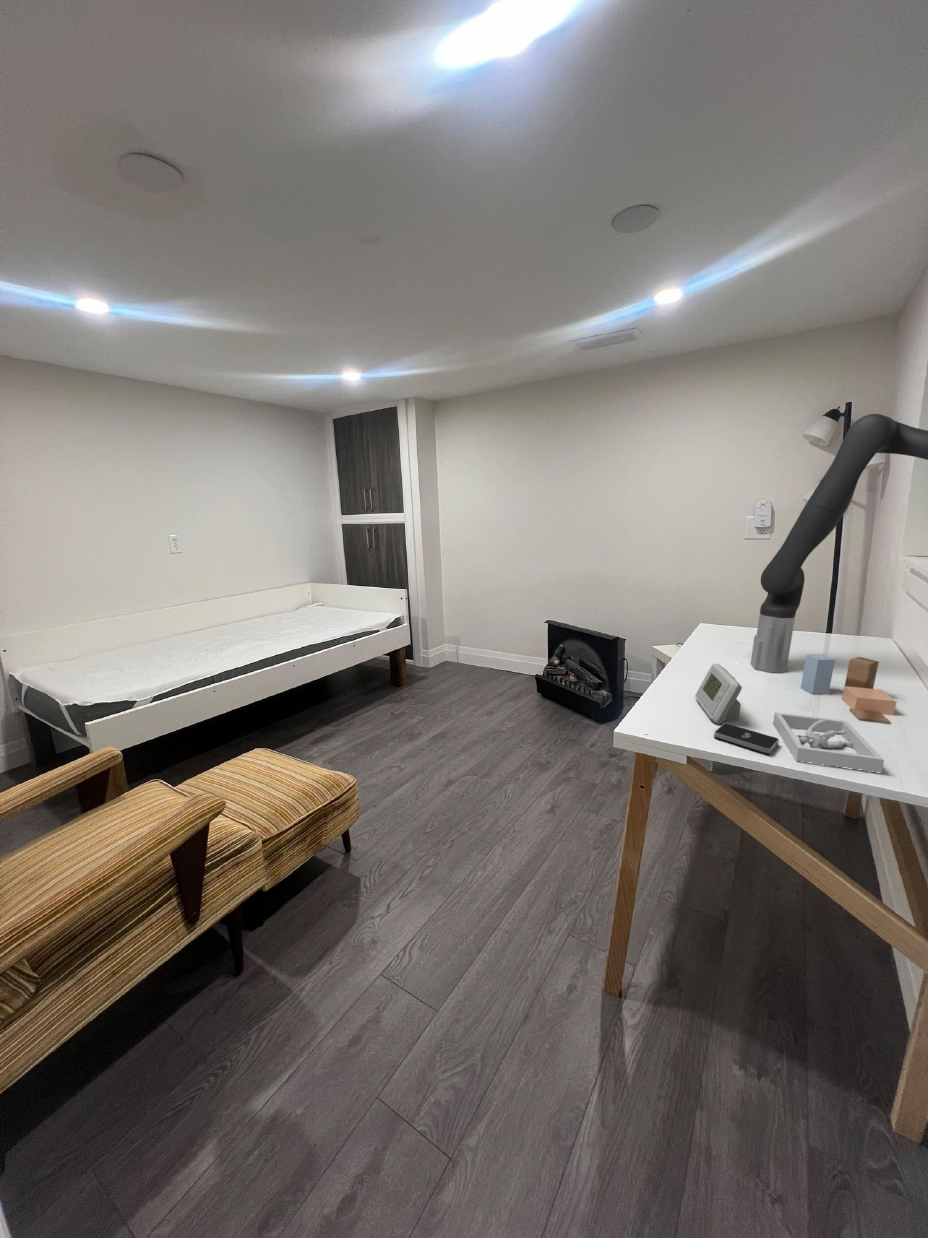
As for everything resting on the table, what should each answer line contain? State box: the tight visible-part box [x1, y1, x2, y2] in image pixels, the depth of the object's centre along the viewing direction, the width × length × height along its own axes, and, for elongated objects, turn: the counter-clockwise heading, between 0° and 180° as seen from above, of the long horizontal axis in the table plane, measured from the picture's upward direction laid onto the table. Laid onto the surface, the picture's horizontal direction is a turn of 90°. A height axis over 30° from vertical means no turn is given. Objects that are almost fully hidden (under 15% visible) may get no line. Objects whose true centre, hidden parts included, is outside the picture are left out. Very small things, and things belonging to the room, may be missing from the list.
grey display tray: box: [772, 711, 885, 773], centre depth 103 cm, size 14×18×3 cm
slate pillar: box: [800, 654, 836, 696], centre depth 132 cm, size 4×4×10 cm
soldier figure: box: [796, 720, 852, 749], centre depth 102 cm, size 8×5×12 cm
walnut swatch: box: [849, 707, 891, 725], centre depth 117 cm, size 6×6×1 cm
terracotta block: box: [841, 685, 897, 716], centre depth 123 cm, size 8×8×4 cm
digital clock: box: [694, 662, 743, 725], centre depth 119 cm, size 16×9×11 cm, turn 158°
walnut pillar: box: [844, 656, 880, 689], centre depth 129 cm, size 4×4×10 cm
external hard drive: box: [713, 722, 780, 757], centre depth 105 cm, size 7×11×2 cm, turn 44°
